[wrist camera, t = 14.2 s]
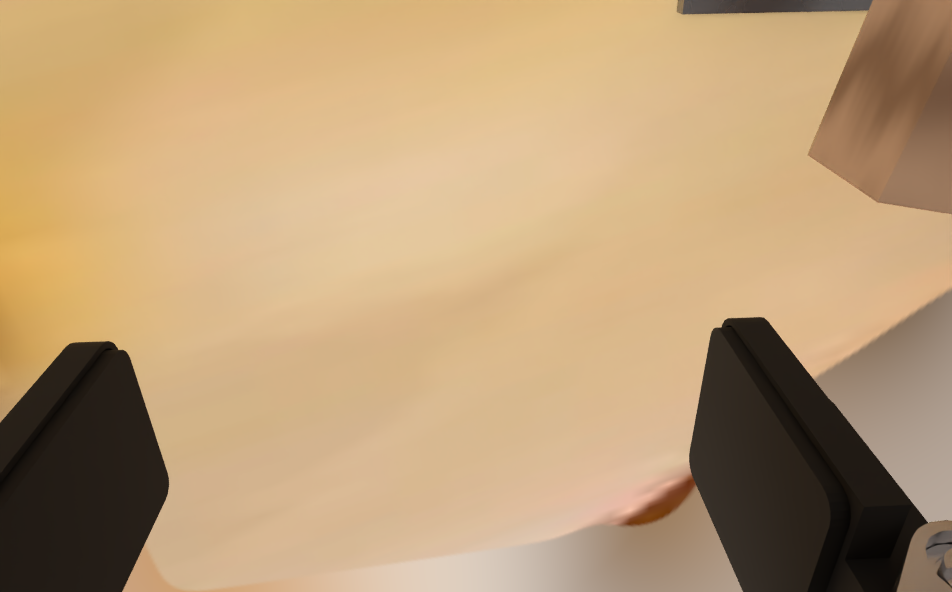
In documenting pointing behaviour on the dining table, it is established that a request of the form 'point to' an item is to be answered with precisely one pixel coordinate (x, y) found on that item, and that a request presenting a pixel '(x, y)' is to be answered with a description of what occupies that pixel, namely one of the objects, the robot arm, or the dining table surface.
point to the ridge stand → (769, 6)
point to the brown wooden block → (895, 107)
